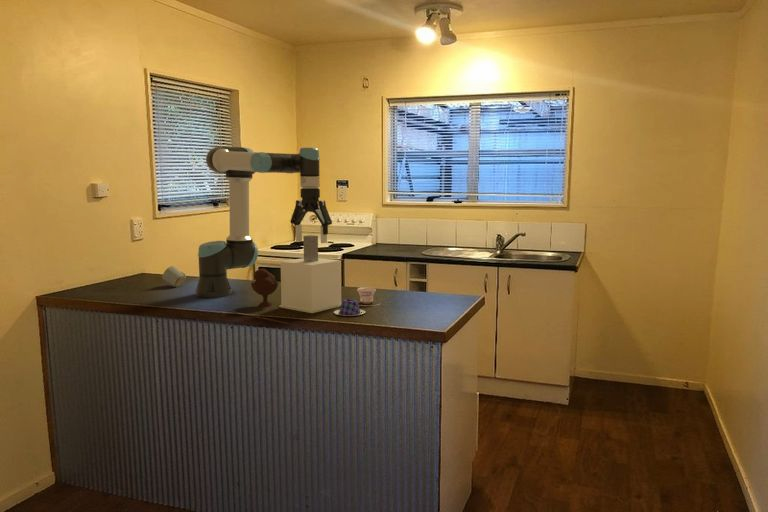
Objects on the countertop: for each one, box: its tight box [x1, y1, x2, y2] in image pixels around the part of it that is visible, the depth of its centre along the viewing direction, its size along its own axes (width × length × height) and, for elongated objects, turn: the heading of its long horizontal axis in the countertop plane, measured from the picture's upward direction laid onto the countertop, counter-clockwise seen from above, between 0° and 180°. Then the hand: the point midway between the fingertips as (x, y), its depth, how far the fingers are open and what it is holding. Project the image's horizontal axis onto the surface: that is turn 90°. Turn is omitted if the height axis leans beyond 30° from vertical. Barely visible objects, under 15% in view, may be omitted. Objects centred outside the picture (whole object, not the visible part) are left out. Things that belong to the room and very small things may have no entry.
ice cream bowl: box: [250, 268, 279, 308], centre depth 239 cm, size 11×11×15 cm
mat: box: [278, 304, 341, 314], centre depth 238 cm, size 18×18×1 cm
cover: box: [280, 234, 342, 311], centre depth 236 cm, size 17×17×28 cm
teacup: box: [356, 286, 381, 307], centre depth 243 cm, size 12×12×6 cm
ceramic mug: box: [161, 265, 187, 288], centre depth 282 cm, size 11×8×8 cm
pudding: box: [333, 298, 366, 317], centre depth 226 cm, size 12×12×5 cm
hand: (311, 242), depth 235 cm, fingers open, 13 cm apart
